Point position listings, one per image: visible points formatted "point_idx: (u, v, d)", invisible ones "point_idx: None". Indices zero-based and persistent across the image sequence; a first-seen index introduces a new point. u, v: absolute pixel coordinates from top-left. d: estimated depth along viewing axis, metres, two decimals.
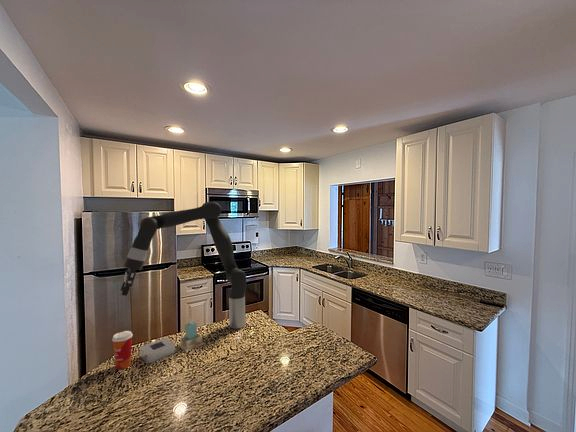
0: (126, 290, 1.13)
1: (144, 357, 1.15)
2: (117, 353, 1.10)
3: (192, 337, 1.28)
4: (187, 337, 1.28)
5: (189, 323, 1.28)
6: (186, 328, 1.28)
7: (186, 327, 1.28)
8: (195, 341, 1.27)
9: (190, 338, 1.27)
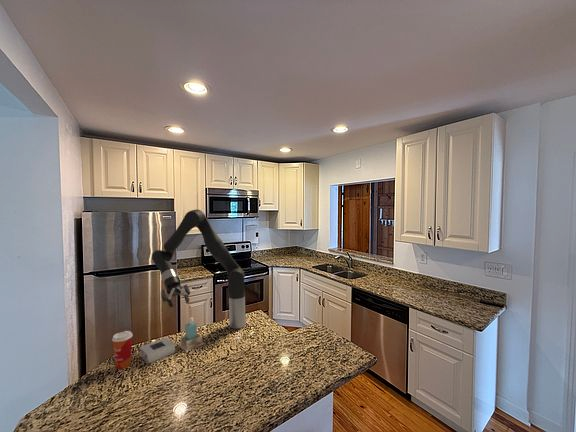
0: (168, 303, 1.34)
1: (144, 357, 1.15)
2: (117, 353, 1.10)
3: (192, 337, 1.28)
4: (187, 337, 1.28)
5: (189, 323, 1.28)
6: (186, 328, 1.28)
7: (186, 327, 1.28)
8: (195, 341, 1.27)
9: (190, 338, 1.27)
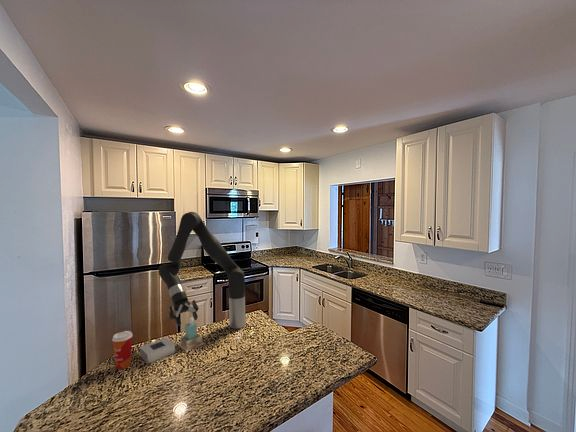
0: (176, 321, 1.28)
1: (144, 357, 1.15)
2: (117, 353, 1.10)
3: (192, 337, 1.28)
4: (187, 337, 1.28)
5: (189, 323, 1.28)
6: (186, 328, 1.28)
7: (186, 327, 1.28)
8: (195, 341, 1.27)
9: (190, 338, 1.27)
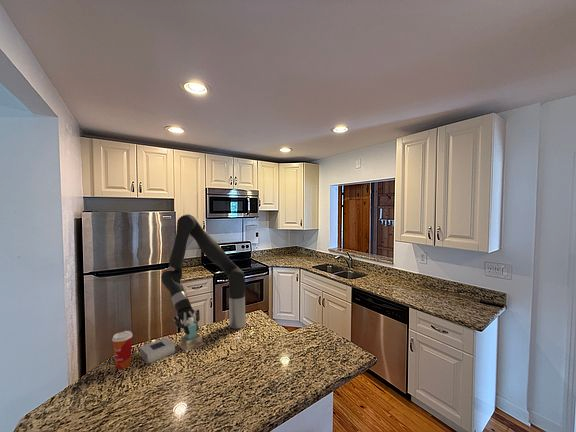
0: (184, 330, 1.27)
1: (144, 357, 1.15)
2: (117, 353, 1.10)
3: (192, 337, 1.28)
4: (187, 337, 1.28)
5: (189, 323, 1.28)
6: None
7: None
8: (195, 341, 1.27)
9: (190, 338, 1.27)
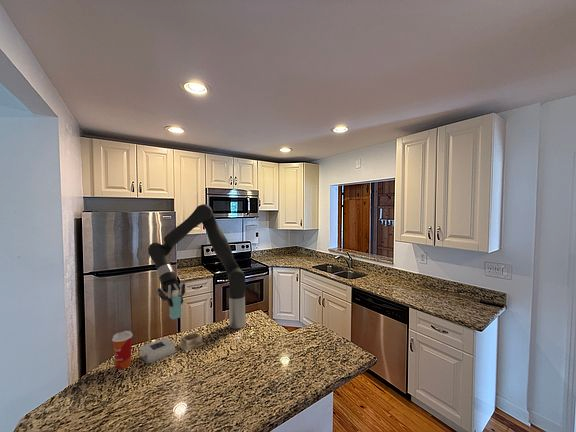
0: (168, 302, 1.23)
1: (144, 357, 1.15)
2: (117, 353, 1.10)
3: (176, 310, 1.24)
4: (171, 310, 1.24)
5: (173, 295, 1.24)
6: None
7: None
8: (195, 341, 1.27)
9: (174, 311, 1.23)
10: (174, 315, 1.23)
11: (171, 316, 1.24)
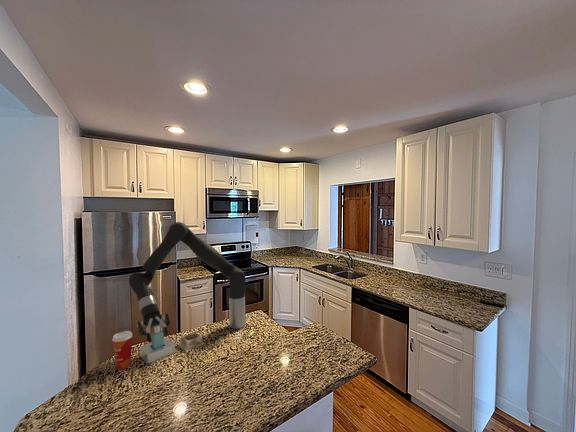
0: (146, 337, 1.17)
1: (144, 357, 1.15)
2: (117, 353, 1.10)
3: (158, 347, 1.19)
4: (153, 347, 1.19)
5: (155, 332, 1.19)
6: (152, 337, 1.19)
7: (152, 336, 1.19)
8: (195, 341, 1.27)
9: (156, 348, 1.18)
10: None
11: None
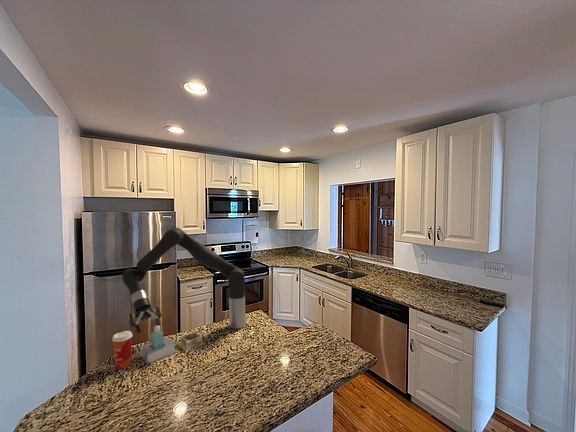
0: (136, 328, 1.25)
1: (144, 357, 1.15)
2: (117, 353, 1.10)
3: (158, 347, 1.19)
4: (153, 347, 1.19)
5: (155, 332, 1.19)
6: (152, 337, 1.19)
7: (152, 336, 1.19)
8: (195, 341, 1.27)
9: (156, 348, 1.18)
10: None
11: None
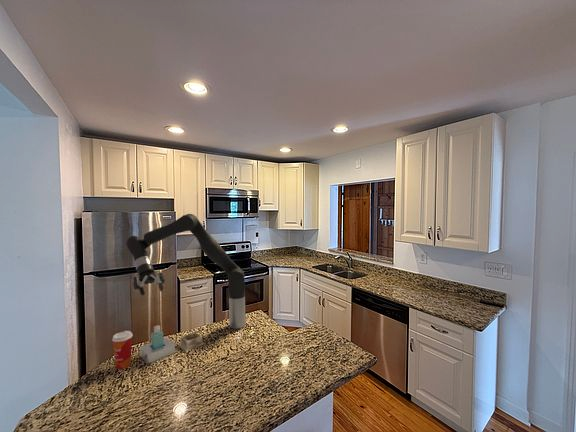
0: (140, 290, 1.27)
1: (144, 357, 1.15)
2: (117, 353, 1.10)
3: (158, 347, 1.19)
4: (153, 347, 1.19)
5: (155, 332, 1.19)
6: (152, 337, 1.19)
7: (152, 336, 1.19)
8: (195, 341, 1.27)
9: (156, 348, 1.18)
10: None
11: None
